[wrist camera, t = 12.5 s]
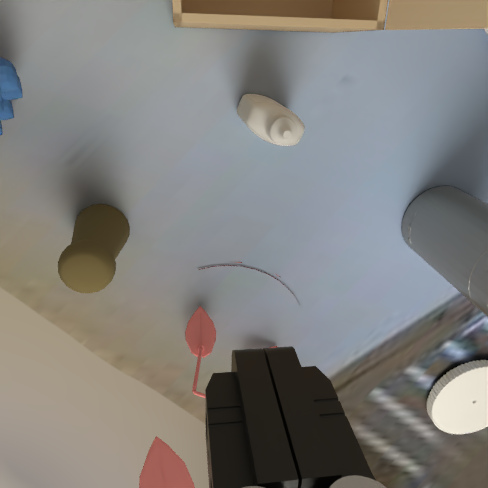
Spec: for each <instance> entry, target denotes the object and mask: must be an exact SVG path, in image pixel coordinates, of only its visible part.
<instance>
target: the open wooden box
mask: <svg viewBox="0 0 488 488" xmlns="http://www.w3.org/2000/svg"><path fill="white" fill-rule="evenodd" d="M172 1H173V23H174V26H175V27H189V28H218V29H246V30H275V31H304V32H332V33H334V32H352V31H369V30H384V24H385V17H386V10H387V4H388V0H172Z"/></svg>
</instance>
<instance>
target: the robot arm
mask: <svg viewBox="0 0 488 488" xmlns="http://www.w3.org/2000/svg"><path fill="white" fill-rule="evenodd" d="M402 235H403V238H404V240H405V242H406V243H407V245H408V246H409V247H410V248H411V249H413V250H414V251H415V252H416V253H417V254H418V255H419V256H420V257H421V258H423V259H424V260H425V261H426V262H427V263H428V264H429V265H430V266H431V267H433V268H434V269H435V270H436V271H437V272H438V273H439V274H440V275H441V276H443V277H444V278H445V279H446V280H447V281H448V282H449V283H450V284H452V285H453V286H454V287H455V288H456V289H457V290H458V291H459V292H461V293H462V294H463V295H464V296H465V297H466V298H467V299H468V300H469V301H471V302H472V303H473V304H474V305H475V306H476V307H477V308H479V309H480V310H481V311H482V312H483V313H484V314H485V315H486V316H488V204H487V203H485V202H483V201H481V200H479V199H477V198H475V197H472V196H470V195H468V194H466V193H465V192H463V191H461V190H459V189H457V188H455V187H450V186H439V187H435V188H432V189H429V190H427V191H425V192H424V193H422V194H421V195H419V196H418V197H417V198H416V199H415V200H414V201H413V202H412V203H411V204H410V206H409V207H408V209H407V211H406V213H405V214H404V218H403V221H402ZM206 445H207V461H208V474H209V488H386V487H385V486H384V485H382V484H381V483H379V482H377V481H376V480H375V478H374V476H373V474H372V473H371V470H370V468H369V466H368V464H367V461H366V459H365V457H364V455H363V453H362V450H361V448H360V446H359V444H358V441H357V439H356V437H355V435H354V432H353V430H352V428H351V426H350V423H349V421H348V419H347V417H346V416H345V412H344V410H343V408H342V406H341V403H340V401H338V397H337V394H336V392H335V390H334V388H333V385H332V383H331V381H330V380H329V379H328V378H327V377H326V376H325V375H324V374H323V373H322V372H321V371H320V370H319V369H318V368H317V367H316V366H312V367H301V365H300V362H299V360H298V357H297V354H296V352H295V349H294V348H293V347H276V348H264V349H246V350H233V351H232V371H231V372H225V373H213V375H212V377H211V379H210V381H209V383H208V386H207V388H206Z"/></svg>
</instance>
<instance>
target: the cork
mask: <svg viewBox="0 0 488 488" xmlns="http://www.w3.org/2000/svg"><path fill="white" fill-rule="evenodd" d="M129 231H130V227H129V224H128V220H127V219H126V217H125V216H124V214H123V213H122V212H120V211H119V210H118V209H116V208H114V207H112V206H109V205H104V204H97V205H91V206H89V207H87V208H85V209H84V210H83V211H82V212H81V213H80V214H79V215H78V217H77V220H76V222H75V227H74V232H73V237H72V242H71V245H69V246H68V247H67V248H66V249H65V250H64V251H63V252H62V254H61V256H60V258H59V261H58V273H59V275H60V278H61V280H62V281H63V282H64V283H65V284H66V286H68V287H69V288H71V289H72V290H74V291H77V292H80V293H93V292H98V291H100V290H102V289H103V288H105V287H106V286H107V285H108V284H109V283H110V282H111V281H112V279H113V276H114V274H115V270H116V262H115V259H116V257H117V256H118V254H119V253H120V251H121V249H122V248H123V246H124V245H125V243H126V241H127V239H128V237H129Z"/></svg>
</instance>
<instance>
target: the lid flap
mask: <svg viewBox="0 0 488 488" xmlns="http://www.w3.org/2000/svg"><path fill="white" fill-rule="evenodd" d="M486 28H488V0H390V1H389V8H388V15H387V22H386V28H385V30H419V29H486Z"/></svg>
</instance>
